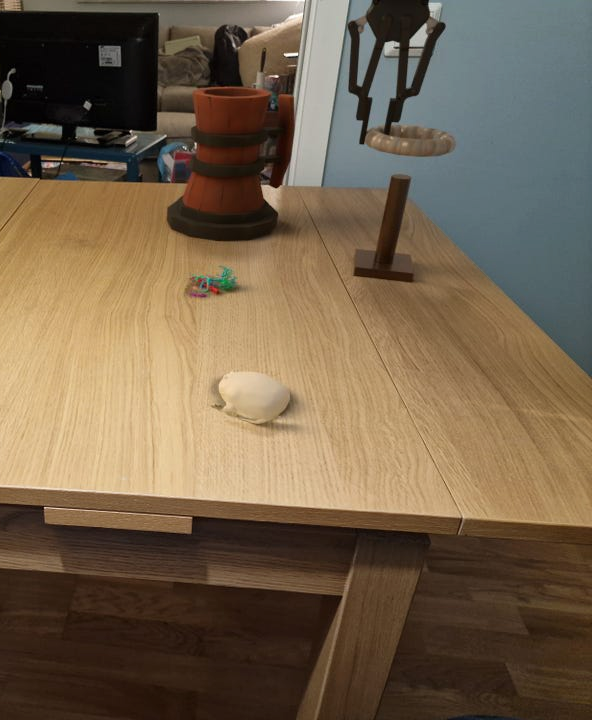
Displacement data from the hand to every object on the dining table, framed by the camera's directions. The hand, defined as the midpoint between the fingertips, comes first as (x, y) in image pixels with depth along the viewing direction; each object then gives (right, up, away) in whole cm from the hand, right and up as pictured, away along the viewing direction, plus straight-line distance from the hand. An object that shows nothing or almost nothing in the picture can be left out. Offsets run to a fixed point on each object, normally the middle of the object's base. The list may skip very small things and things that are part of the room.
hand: (372, 143), depth 103 cm
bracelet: (+5, 0, -2) cm, 5 cm away
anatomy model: (-26, -24, 0) cm, 35 cm away
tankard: (-17, -6, +31) cm, 36 cm away
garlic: (-25, -39, -27) cm, 54 cm away
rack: (+5, -18, +9) cm, 21 cm away
